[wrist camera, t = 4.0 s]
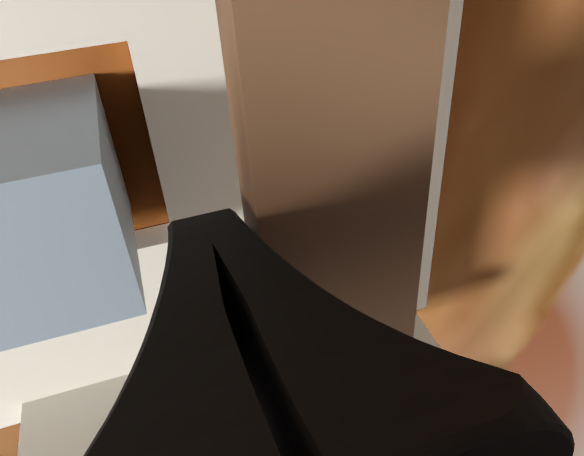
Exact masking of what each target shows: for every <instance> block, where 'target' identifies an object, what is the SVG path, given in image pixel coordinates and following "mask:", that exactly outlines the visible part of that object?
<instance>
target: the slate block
mask: <svg viewBox="0 0 584 456" xmlns="http://www.w3.org/2000/svg"><path fill="white" fill-rule="evenodd" d="M145 314H147V312H146V305H145V298H144V292H143V285H142V279H141V272H140V265H139V259H138V252H137V245H136V239H135V232H134V226H133V219H132V212H131V206H130V201H129V197H128V193H127V190H126V186H125V183H124V179H123V176H122V172H121V168H120V165H119V161H118V158H117V154H116V151H115V147H114V144H113V140H112V136H111V133H110V129H109V126H108V122H107V119H106V115H105V111H104V108H103V104H102V101H101V97H100V94H99V90H98V86H97V83H96V79H95V76H94V74H88V75H82V76H76V77H70V78H64V79H58V80H52V81H45V82H39V83H33V84H27V85H21V86H15V87H9V88H3V89H0V352H2V351H5V350H9V349H13V348H17V347H21V346H25V345H29V344H33V343H37V342H40V341H44V340H48V339H52V338H56V337H60V336H64V335H68V334H71V333H75V332H79V331H83V330H87V329H91V328H95V327H99V326H103V325H106V324H110V323H114V322H118V321H122V320H126V319H130V318H134V317H137V316H141V315H145Z"/></svg>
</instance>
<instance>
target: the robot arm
mask: <svg viewBox="0 0 584 456" xmlns="http://www.w3.org/2000/svg"><path fill="white" fill-rule="evenodd" d="M167 229H168V247H167V255H166V262H165V267H164V272H163V276H162V281H161V285H160V290H159V294H158V297H157V301H156V304H155V307H154V310H153V313H152V317H151V320H150V323H149V326H148V329H147V332H146V334H145V337H144V340H143V342H142V345H141V348H140V350H139V352H138V355H137V357H136V359H135V362H134V364H133V366H132V369H131V371H130V373H129V375H128V377H127V379H126V381H125V383H124V385H123V387H122V389H121V391H120V393H119V395H118V397H117V399H116V401H115V403H114V405H113V407H112V409H111V411H110V412H109V414H108V416H107V418H106V420H105V421H104V423H103V425H102V426H101V428H100V429H99V431H98V433H97V434H96V436H95V438H94V439H93V441H92V442H91V444H90V446H89V447H88V449H87V451H86V452H85V454H84V456H573V452H574V440H573V436H572V433H571V431H570V430H569V429H568V428H567V426H566V425H565V424H564V423H563V422H562V421H561V419H560V418H559V417H558V416H557V414H556V413H555V412H554V411H553V409H552V408H551V407H550V406H549V405H548V404H547V403H546V401H545V400H544V399H543V398H542V397H541V396H540V395H539V394H538V393H537V392H536V391H535V390H534V389H533V388H532V387H531V386H530V385H529V384H528V383H527V382H526V381H525V380H524V379H523V378H522V377H521V376H520V375H519V374H516V373H514V372H510V371H507V370H504V369H501V368H498V367H494V366H491V365H488V364H485V363H482V362H478V361H475V360H472V359H469V358H466V357H462V356H459V355H457V354H454V353H451V352H448V351H446V350H443V349H441V348H438V347H436V346H433V345H430V344H428V343H425V342H423V341H420V340H418V339H416V338H413V337H411V336H409V335H406V334H404V333H402V332H400V331H398V330H396V329H394V328H392V327H390V326H388V325H385V324H383V323H381V322H379V321H377V320H375V319H373V318H371V317H369V316H367V315H366V314H364V313H362V312H360V311H358V310H356V309H355V308H353V307H351V306H350V305H348V304H346V303H345V302H343V301H342V300H340V299H338V298H337V297H335V296H334V295H332V294H330V293H329V292H327V291H326V290H324V289H323V288H322V287H320V286H319V285H317V284H316V283H314V282H313V281H312V280H310V279H309V278H308V277H306V276H305V275H304V274H302V273H301V272H300V271H298V270H297V269H296V268H294V267H293V266H292V265H291V264H289V263H288V262H287V261H286V260H285V259H284V258H282V257H281V256H280V255H279V254H278V253H276V252H275V251H274V250H273V249H272V248H271V247H269V246H268V245H267V244H266V243H265V242H264V241H263V240H262V239H261V238H260V237H259V236H258V235H257V234H256V233H254V232H253V231H252V230H251V229H250V228H249V227H248V225H247V224H246V223H245V222H244V221H243V220H242V219H241V218H240V217H239V216H238V215H237V213H236V212H235V211H233V210H231V209H230V208H227V209H223V210H218V211H214V212H210V213H205V214H201V215H196V216H192V217H188V218H183V219H179V220H174V221H172V222H171V223H170V224H169V226H168V227H167Z"/></svg>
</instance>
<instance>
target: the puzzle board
mask: <svg viewBox="0 0 584 456" xmlns="http://www.w3.org/2000/svg"><path fill="white" fill-rule="evenodd" d="M463 3H464V0H450V4H449V14H448V23H447V32H446V41H445V50H444V60H443V69H442V78H441V87H440V97H439V106H438V115H437V124H436V133H435V143H434V152H433V161H432V170H431V179H430V189H429V198H428V207H427V216H426V225H425V235H424V244H423V253H422V262H421V271H420V281H419V290H418V299H417V308H416V310H418V309H422V308H425V307H426V304H427V296H428V288H429V279H430V271H431V263H432V255H433V247H434V239H435V231H436V223H437V214H438V206H439V198H440V190H441V182H442V174H443V166H444V157H445V149H446V141H447V133H448V125H449V117H450V109H451V100H452V92H453V84H454V76H455V68H456V60H457V52H458V43H459V35H460V27H461V19H462V11H463ZM123 41H127V42H128V46H129V51H130V55H131V59H132V63H133V68H134V72H135V76H136V81H137V85H138V89H139V94H140V98H141V102H142V106H143V111H144V115H145V119H146V124H147V128H148V132H149V136H150V141H151V145H152V149H153V154H154V158H155V162H156V166H157V171H158V175H159V179H160V184H161V188H162V192H163V197H164V201H165V205H166V209H167V214H168V218H169V222H170V223H171V222H172V221H174V220H179V219H183V218H188V217H192V216H196V215H201V214H205V213H210V212H214V211H218V210H223V209H227V208H230V209H231V210H233V211H235V212H236V213H237V215H238V216H239V217H240V218H241V219H242V220H243V221H244V215H243V207H242V200H241V192H240V185H239V177H238V170H237V162H236V155H235V147H234V140H233V132H232V124H231V117H230V109H229V102H228V94H227V87H226V79H225V72H224V64H223V57H222V49H221V42H220V34H219V27H218V19H217V12H216V4H215V0H0V60H4V59H10V58H17V57H24V56H30V55H37V54H43V53H50V52H57V51H63V50H70V49H76V48H83V47H90V46H96V45H103V44H109V43H116V42H123ZM170 223H166V224H162V225H157V226H153V227H148V228H144V229H140V230H135V231H134V232H135V239H136V245H137V252H138V259H139V265H140V272H141V279H142V285H143V292H144V298H145V305H146V312H147V314H145V315H141V316H137V317H134V318H130V319H126V320H122V321H118V322H114V323H110V324H106V325H103V326H99V327H95V328H91V329H87V330H83V331H79V332H75V333H71V334H68V335H64V336H60V337H56V338H52V339H48V340H44V341H40V342H37V343H33V344H29V345H25V346H21V347H17V348H13V349H9V350H5V351H2V352H0V428H4V427H7V426H11V425H14V424H18V423H20V434H19V445H18V456H84V454H85V452H86V451H87V449H88V447H89V446H90V444H91V442H92V441H93V439H94V438H95V436H96V434H97V433H98V431H99V429H100V428H101V426H102V425H103V423H104V421H105V420H106V418H107V416H108V414H109V412H110V411H111V409H112V407H113V405H114V403H115V401H116V399H117V397H118V395H119V393H120V391H121V389H122V387H123V385H124V383H125V381H126V379H127V377H128V375H129V373H130V371H131V369H132V366H133V364H134V362H135V359H136V357H137V355H138V352H139V350H140V348H141V345H142V342H143V340H144V337H145V334H146V332H147V329H148V326H149V323H150V320H151V317H152V313H153V310H154V307H155V304H156V301H157V297H158V294H159V290H160V285H161V281H162V276H163V272H164V267H165V262H166V255H167V247H168V229H167V227H168V226H169V224H170ZM413 338H416V339H418V340H420V341H423V342H425V343H428V344H430V345H433V346H436V347H438V348H441V347H440V346H439V345H438V343H437V342H436V340H435V339H434V338H433V336H432V335H431V333H430V332H429V331H428V329H427V328H426V326H425V325H424V323H423V322H422V321H421V319H420V318H419V316H418V315H417V314H416V317H415V327H414V336H413Z"/></svg>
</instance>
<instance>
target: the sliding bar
mask: <svg viewBox="0 0 584 456" xmlns="http://www.w3.org/2000/svg"><path fill="white" fill-rule="evenodd" d="M215 4H216V12H217V19H218V27H219V34H220V42H221V49H222V57H223V64H224V72H225V79H226V87H227V94H228V102H229V109H230V117H231V124H232V132H233V140H234V147H235V155H236V162H237V170H238V177H239V185H240V192H241V200H242V207H243V215H244V222H245V223H246V224H247V225H248V227H249V228H250V229H251V230H252V231H253V232H254V233H256V234H257V235H258V236H259V237H260V238H261V239H262V240H263V241H264V242H265V243H266V244H267V245H268V246H269V247H271V248H272V249H273V250H274V251H275V252H276V253H278V254H279V255H280V256H281V257H282V258H284V259H285V260H286V261H287V262H288V263H289V264H291V265H292V266H293V267H294V268H296V269H297V270H298V271H300V272H301V273H302V274H304V275H305V276H306V277H308V278H309V279H310V280H312V281H313V282H314V283H316V284H317V285H319V286H320V287H322V288H323V289H324V290H326V291H327V292H329V293H330V294H332V295H334V296H335V297H337V298H338V299H340V300H342V301H343V302H345V303H346V304H348V305H350V306H351V307H353V308H355V309H356V310H358V311H360V312H362V313H364V314H366V315H367V316H369V317H371V318H373V319H375V320H377V321H379V322H381V323H383V324H385V325H388V326H390V327H392V328H394V329H396V330H398V331H400V332H402V333H404V334H406V335H409V336H411V337H413V336H414V327H415V317H416V308H417V299H418V290H419V281H420V271H421V262H422V253H423V244H424V235H425V225H426V216H427V207H428V198H429V189H430V179H431V170H432V161H433V152H434V143H435V133H436V124H437V115H438V106H439V97H440V87H441V78H442V69H443V60H444V50H445V41H446V32H447V23H448V14H449V4H450V0H215Z"/></svg>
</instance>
